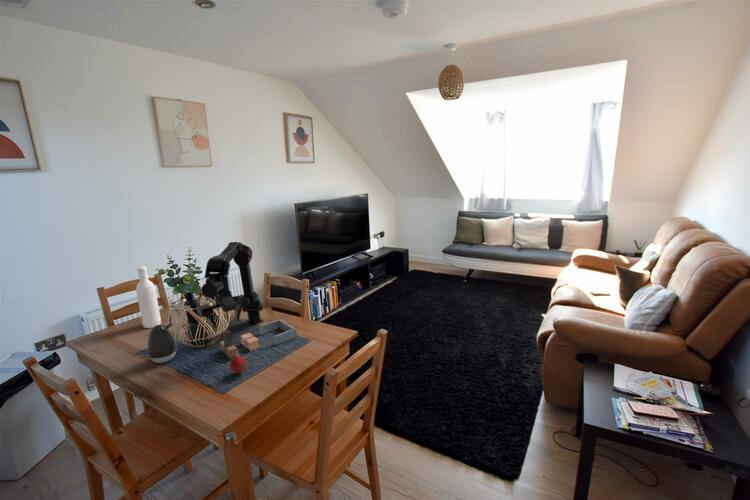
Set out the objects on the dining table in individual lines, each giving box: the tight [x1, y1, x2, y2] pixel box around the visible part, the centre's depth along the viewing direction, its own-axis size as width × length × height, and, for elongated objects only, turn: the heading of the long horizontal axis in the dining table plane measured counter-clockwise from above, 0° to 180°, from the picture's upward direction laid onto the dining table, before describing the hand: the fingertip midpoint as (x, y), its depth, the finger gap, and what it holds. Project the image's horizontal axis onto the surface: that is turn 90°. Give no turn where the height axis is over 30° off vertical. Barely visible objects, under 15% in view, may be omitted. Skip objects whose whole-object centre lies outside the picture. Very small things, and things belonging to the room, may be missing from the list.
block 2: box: [245, 335, 260, 352], centre depth 152 cm, size 4×4×4 cm
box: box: [258, 318, 298, 346], centre depth 162 cm, size 15×10×4 cm
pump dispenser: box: [146, 322, 178, 364], centre depth 143 cm, size 10×10×15 cm
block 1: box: [240, 332, 255, 348], centre depth 155 cm, size 4×4×4 cm
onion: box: [229, 353, 248, 374], centre depth 133 cm, size 6×6×8 cm
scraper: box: [219, 329, 239, 360], centre depth 147 cm, size 11×3×10 cm, turn 43°
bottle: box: [135, 266, 162, 329], centre depth 174 cm, size 8×8×30 cm
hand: (226, 324), depth 145 cm, fingers open, 9 cm apart
